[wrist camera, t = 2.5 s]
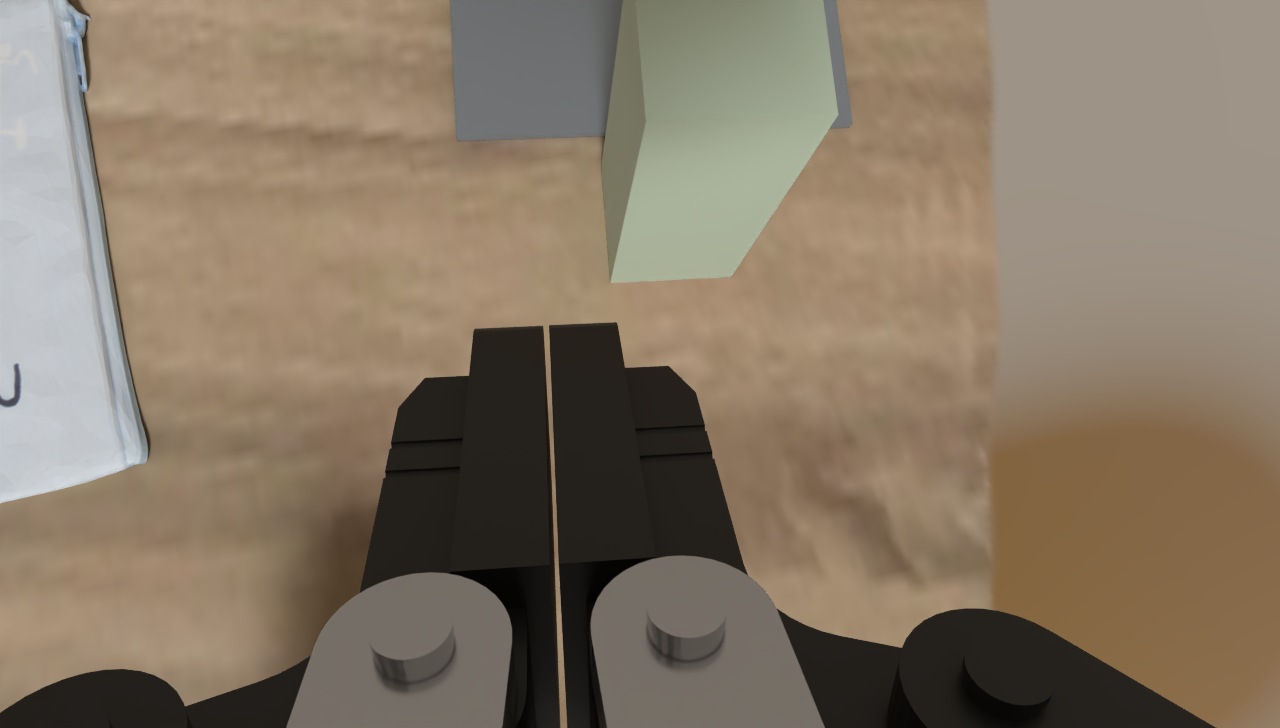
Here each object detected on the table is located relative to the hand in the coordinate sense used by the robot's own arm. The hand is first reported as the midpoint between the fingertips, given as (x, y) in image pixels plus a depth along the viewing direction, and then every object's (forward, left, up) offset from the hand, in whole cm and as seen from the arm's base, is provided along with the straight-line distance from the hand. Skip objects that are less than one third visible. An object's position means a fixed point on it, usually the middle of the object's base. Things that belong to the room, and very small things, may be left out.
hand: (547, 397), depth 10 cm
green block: (-10, +5, -22) cm, 25 cm away
